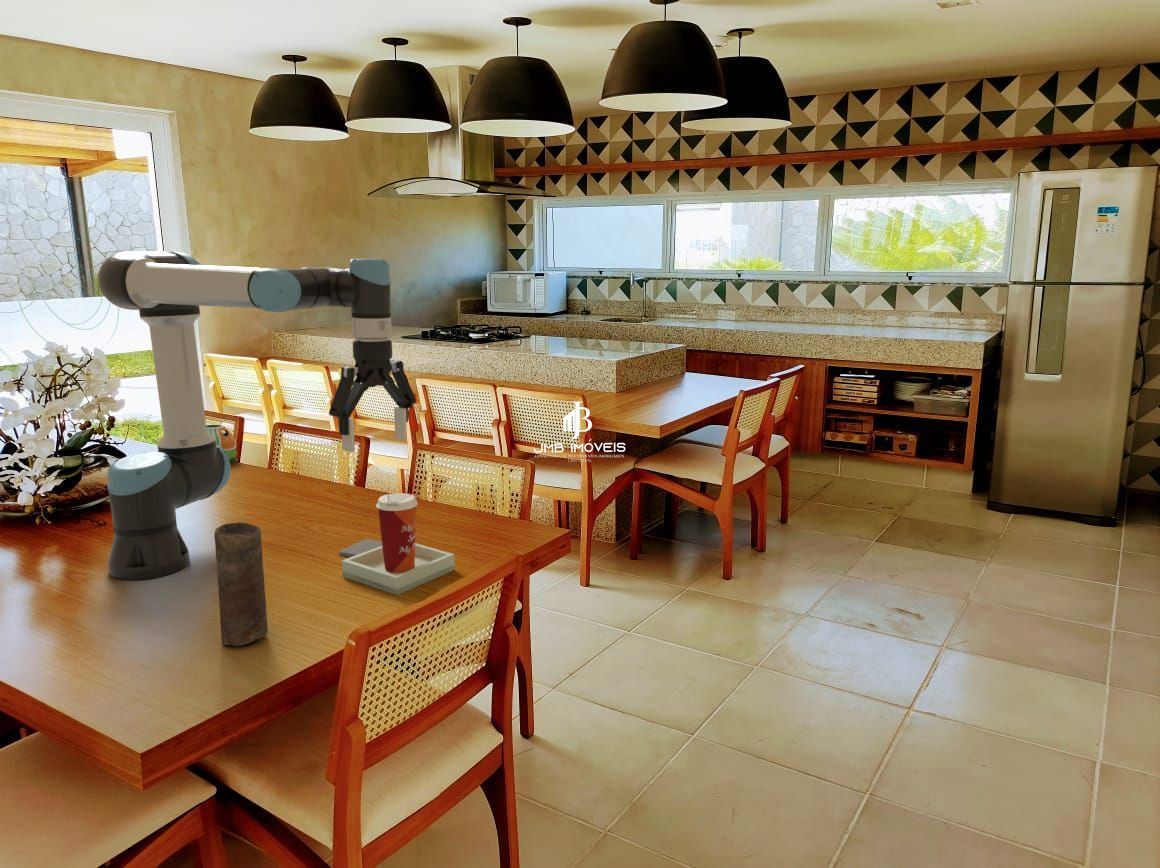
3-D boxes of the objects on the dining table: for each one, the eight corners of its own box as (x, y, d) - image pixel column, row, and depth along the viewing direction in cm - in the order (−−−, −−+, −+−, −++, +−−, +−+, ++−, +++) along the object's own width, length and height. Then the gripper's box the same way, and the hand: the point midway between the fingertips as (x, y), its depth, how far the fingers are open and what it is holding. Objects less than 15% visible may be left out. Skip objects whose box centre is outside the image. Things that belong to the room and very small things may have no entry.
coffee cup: (415, 575, 167) (412, 504, 163) (374, 574, 167) (371, 503, 163) (423, 560, 175) (421, 492, 171) (385, 559, 175) (381, 491, 172)
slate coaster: (372, 561, 177) (372, 557, 177) (339, 554, 181) (339, 551, 181) (398, 548, 185) (398, 544, 185) (366, 542, 189) (365, 538, 189)
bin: (397, 595, 160) (396, 578, 159) (342, 576, 169) (341, 560, 168) (454, 570, 173) (454, 554, 172) (401, 554, 182) (400, 538, 181)
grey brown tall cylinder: (255, 625, 147) (246, 518, 142) (278, 638, 142) (269, 527, 138) (213, 641, 141) (202, 529, 136) (235, 654, 136) (225, 538, 132)
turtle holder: (196, 456, 267) (193, 420, 264) (246, 459, 263) (243, 423, 261) (169, 465, 255) (165, 427, 253) (221, 469, 251) (217, 431, 249)
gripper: (332, 345, 150) (337, 459, 154) (431, 336, 170) (433, 436, 174) (306, 342, 154) (312, 452, 159) (406, 333, 174) (408, 431, 179)
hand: (375, 444), depth 167 cm, fingers open, 13 cm apart
